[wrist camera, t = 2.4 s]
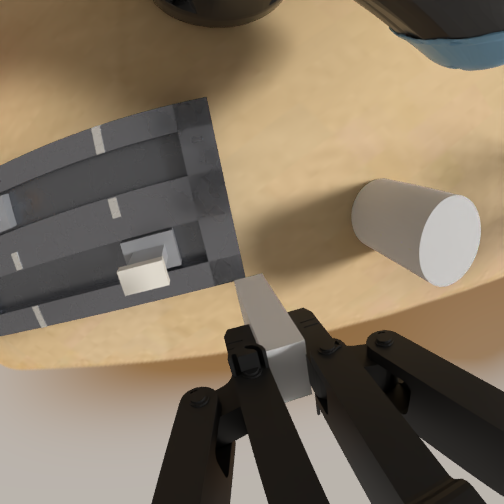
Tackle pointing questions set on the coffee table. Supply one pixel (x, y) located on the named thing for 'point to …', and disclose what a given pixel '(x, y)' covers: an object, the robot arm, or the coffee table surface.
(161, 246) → the cream fader
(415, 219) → the grey solid cylinder
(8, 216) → the orange fader
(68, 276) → the console board
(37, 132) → the coffee table surface
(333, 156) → the coffee table surface
